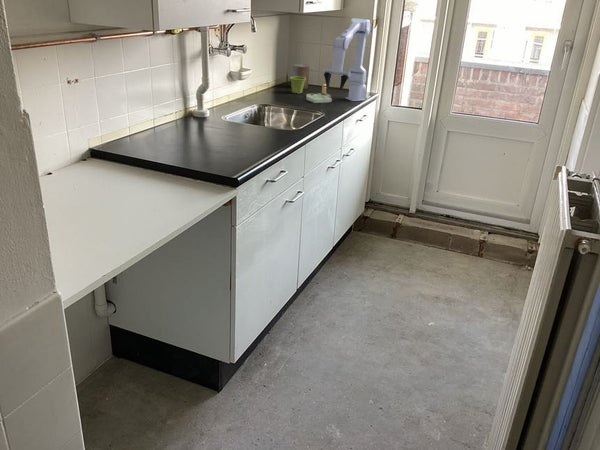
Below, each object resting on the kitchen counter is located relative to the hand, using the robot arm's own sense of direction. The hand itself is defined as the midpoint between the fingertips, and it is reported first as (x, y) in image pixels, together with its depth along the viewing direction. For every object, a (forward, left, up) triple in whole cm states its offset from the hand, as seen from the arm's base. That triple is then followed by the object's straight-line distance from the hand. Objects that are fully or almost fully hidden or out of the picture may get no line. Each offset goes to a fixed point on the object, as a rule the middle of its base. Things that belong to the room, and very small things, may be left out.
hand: (334, 88), depth 279 cm
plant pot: (0, -41, -11) cm, 42 cm away
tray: (-2, -19, -11) cm, 21 cm away
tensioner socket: (-10, -27, -11) cm, 31 cm away
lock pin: (-10, -27, -11) cm, 31 cm away
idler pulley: (-3, -28, -11) cm, 30 cm away
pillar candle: (-9, -54, -11) cm, 56 cm away
